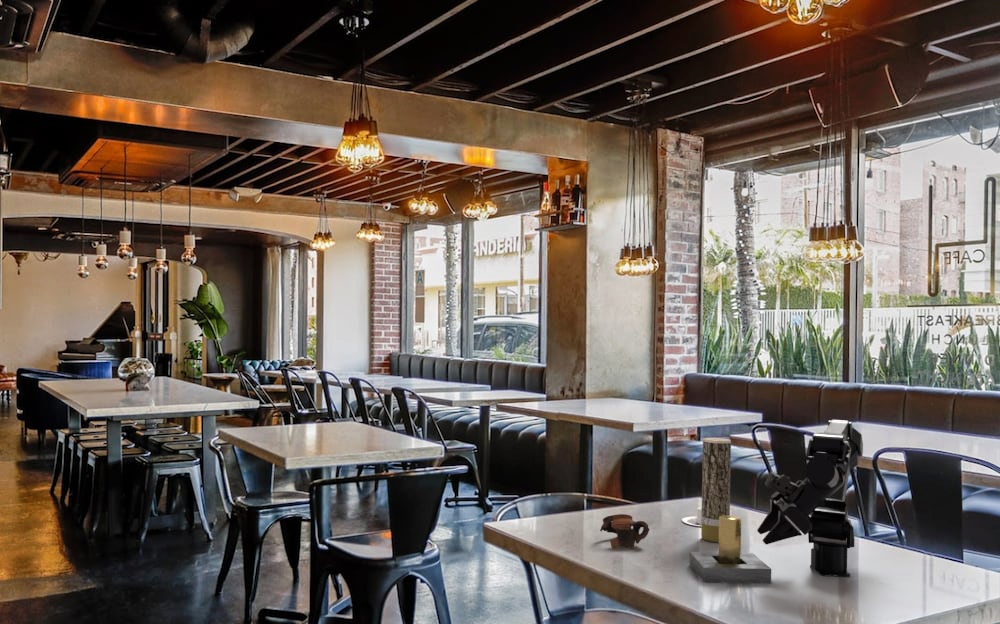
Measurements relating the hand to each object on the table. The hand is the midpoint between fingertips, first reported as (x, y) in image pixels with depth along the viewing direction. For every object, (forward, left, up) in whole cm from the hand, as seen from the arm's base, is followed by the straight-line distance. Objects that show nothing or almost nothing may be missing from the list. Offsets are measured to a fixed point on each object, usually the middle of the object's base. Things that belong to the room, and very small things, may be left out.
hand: (761, 537), depth 175 cm
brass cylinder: (+7, -1, -8) cm, 10 cm away
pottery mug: (+25, -24, -8) cm, 36 cm away
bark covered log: (+2, -30, -8) cm, 31 cm away
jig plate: (+7, -1, -8) cm, 10 cm away
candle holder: (0, -48, -9) cm, 48 cm away
